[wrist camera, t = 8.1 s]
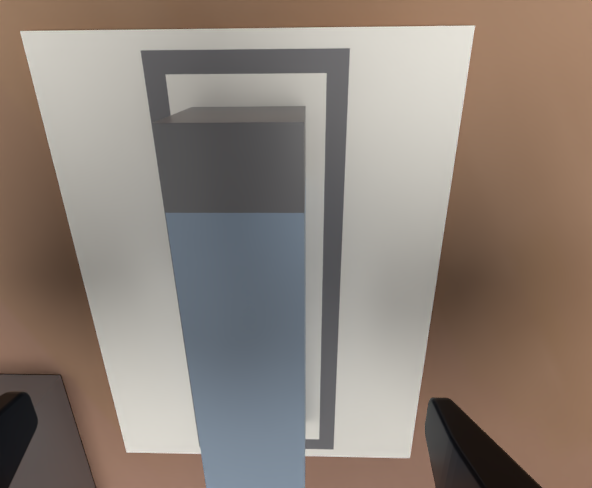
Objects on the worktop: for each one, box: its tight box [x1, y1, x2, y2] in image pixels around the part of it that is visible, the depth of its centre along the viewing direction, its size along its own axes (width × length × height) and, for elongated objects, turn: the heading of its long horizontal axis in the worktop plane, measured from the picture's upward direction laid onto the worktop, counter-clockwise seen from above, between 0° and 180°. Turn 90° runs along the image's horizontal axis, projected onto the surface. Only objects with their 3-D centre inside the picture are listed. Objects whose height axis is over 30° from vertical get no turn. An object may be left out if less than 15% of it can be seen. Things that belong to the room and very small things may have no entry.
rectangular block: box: [152, 106, 306, 488], centre depth 12 cm, size 12×3×3 cm, turn 1°
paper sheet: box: [20, 26, 475, 458], centre depth 14 cm, size 16×12×1 cm
